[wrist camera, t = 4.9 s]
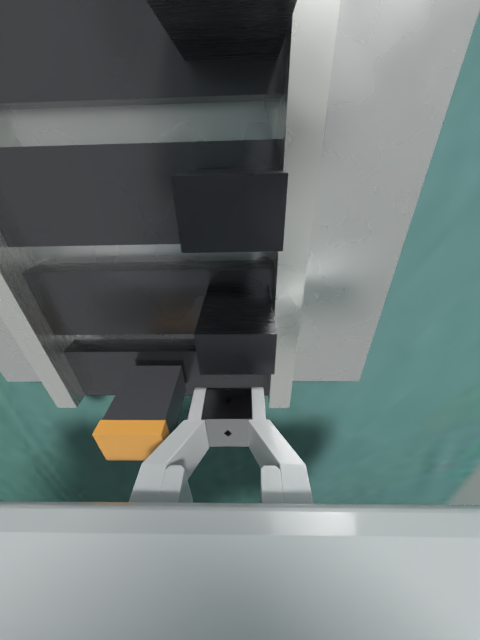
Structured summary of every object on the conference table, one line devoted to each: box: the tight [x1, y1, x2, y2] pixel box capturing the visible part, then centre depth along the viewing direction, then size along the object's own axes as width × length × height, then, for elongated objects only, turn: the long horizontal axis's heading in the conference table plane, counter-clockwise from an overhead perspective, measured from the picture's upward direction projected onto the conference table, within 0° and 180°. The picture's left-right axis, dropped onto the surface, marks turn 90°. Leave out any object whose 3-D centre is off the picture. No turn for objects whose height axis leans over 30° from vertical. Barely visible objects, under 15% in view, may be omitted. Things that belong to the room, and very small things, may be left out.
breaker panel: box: [0, 0, 480, 408], centre depth 9 cm, size 15×20×6 cm
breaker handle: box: [92, 366, 186, 460], centre depth 11 cm, size 2×2×4 cm
